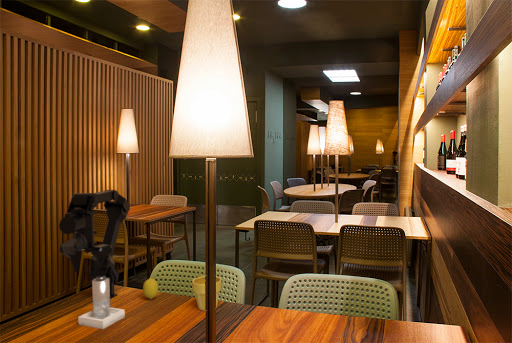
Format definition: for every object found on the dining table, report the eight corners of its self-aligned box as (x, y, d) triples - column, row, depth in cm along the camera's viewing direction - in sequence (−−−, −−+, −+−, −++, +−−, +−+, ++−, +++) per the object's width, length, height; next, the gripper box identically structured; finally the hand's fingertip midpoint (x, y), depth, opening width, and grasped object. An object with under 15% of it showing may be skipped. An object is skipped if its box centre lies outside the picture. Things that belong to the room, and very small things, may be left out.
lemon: (140, 300, 150) (139, 279, 150) (150, 295, 155) (149, 275, 155) (151, 302, 148) (150, 281, 148) (161, 298, 153) (161, 277, 152)
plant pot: (186, 309, 140) (185, 282, 140) (203, 300, 150) (203, 274, 149) (211, 314, 136) (211, 286, 135) (227, 304, 145) (227, 277, 144)
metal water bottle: (104, 313, 136) (103, 273, 136) (113, 316, 133) (112, 276, 132) (90, 318, 132) (88, 277, 131) (99, 322, 129) (97, 280, 128)
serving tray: (101, 313, 139) (101, 305, 139) (124, 316, 135) (124, 309, 135) (78, 324, 130) (78, 316, 129) (103, 329, 126) (102, 321, 126)
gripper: (45, 231, 137) (47, 277, 138) (88, 234, 130) (89, 282, 131) (71, 226, 148) (73, 268, 148) (112, 228, 141) (113, 273, 141)
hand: (86, 272), depth 142 cm, fingers open, 9 cm apart
